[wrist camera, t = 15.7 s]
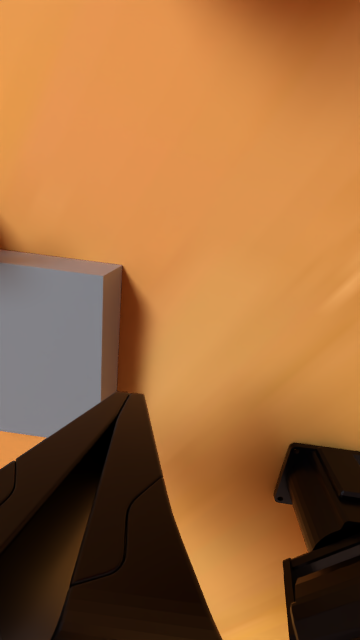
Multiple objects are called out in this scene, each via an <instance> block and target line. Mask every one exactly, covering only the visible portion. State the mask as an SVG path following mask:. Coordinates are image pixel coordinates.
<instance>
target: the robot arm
mask: <svg viewBox="0 0 360 640" xmlns="http://www.w3.org/2000/svg"><path fill="white" fill-rule="evenodd" d="M295 449H296V450H295ZM274 499H275V501H276V502H278V503H285V504H292V505H293V507H294V510H295V513H296V516H297V519H298V522H299V525H300V529H301V532H302V535H303V538H304V541H305V544H306V547H307V550H308V553H306V554H303V555H301V556H298V557H296V558H293V559H291V558H288V559H286V560H283V570H284V585H285V596H286V607H287V618H288V629H289V640H360V452H358V451H350V450H343V449H336V448H329V447H322V446H315V445H308V444H301V443H292V444H291V445H290V446H289V448H288V451H287V454H286V457H285V460H284V463H283V466H282V469H281V473H280V476H279V479H278V482H277V485H276V488H275V491H274ZM0 640H222V638H221V636H220V634H219V631H218V629H217V627H216V625H215V622H214V620H213V618H212V615H211V613H210V611H209V608H208V606H207V603H206V601H205V598H204V595H203V593H202V590H201V588H200V585H199V583H198V580H197V577H196V575H195V572H194V570H193V567H192V565H191V562H190V559H189V557H188V554H187V552H186V549H185V546H184V544H183V541H182V539H181V536H180V533H179V530H178V527H177V524H176V522H175V519H174V516H173V513H172V509H171V506H170V502H169V498H168V495H167V491H166V486H165V482H164V479H163V474H162V470H161V465H160V461H159V457H158V452H157V448H156V444H155V439H154V435H153V431H152V426H151V422H150V418H149V413H148V409H147V405H146V400H145V396H144V394H138V393H131V394H130V393H128V392H119V391H117V392H115V393H113V394H112V395H110V396H109V397H107V398H106V399H104V400H103V401H101V402H100V403H98V404H97V405H95V406H94V407H92V408H91V409H89V410H88V411H86V412H85V413H83V414H82V415H80V416H79V417H77V418H76V419H75V420H73V421H72V422H70V423H69V424H67V425H66V426H64V427H63V428H61V429H60V430H58V431H57V432H55V433H54V434H52V435H51V436H49V437H48V438H46V439H45V440H43V441H42V442H40V443H39V444H37V445H36V446H34V447H33V448H31V449H30V450H28V451H27V452H25V453H24V454H22V455H21V456H20V457H18V458H17V459H16V462H15V461H12V462H10V463H9V464H7V465H6V466H4V467H3V468H1V469H0Z"/></svg>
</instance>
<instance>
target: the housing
mask: <svg viewBox="0 0 360 640" xmlns="http://www.w3.org/2000/svg"><path fill="white" fill-rule="evenodd" d="M121 284H122V265H117V264H109V263H102V262H94V261H86V260H78V259H71V258H63V257H55V256H47V255H40V254H32V253H24V252H16V251H9V250H1V249H0V431H5V432H12V433H19V434H26V435H33V436H40V437H47V438H48V437H49V436H51V435H52V434H54V433H55V432H57V431H58V430H60V429H61V428H63V427H64V426H66V425H67V424H69V423H70V422H72V421H73V420H75V419H76V418H77V417H79V416H80V415H82V414H83V413H85V412H86V411H88V410H89V409H91V408H92V407H94V406H95V405H97V404H98V403H100V402H101V401H103V400H104V399H106V398H107V397H109V396H110V395H112V394H113V393H115V392H117V376H118V353H119V330H120V307H121Z"/></svg>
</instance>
